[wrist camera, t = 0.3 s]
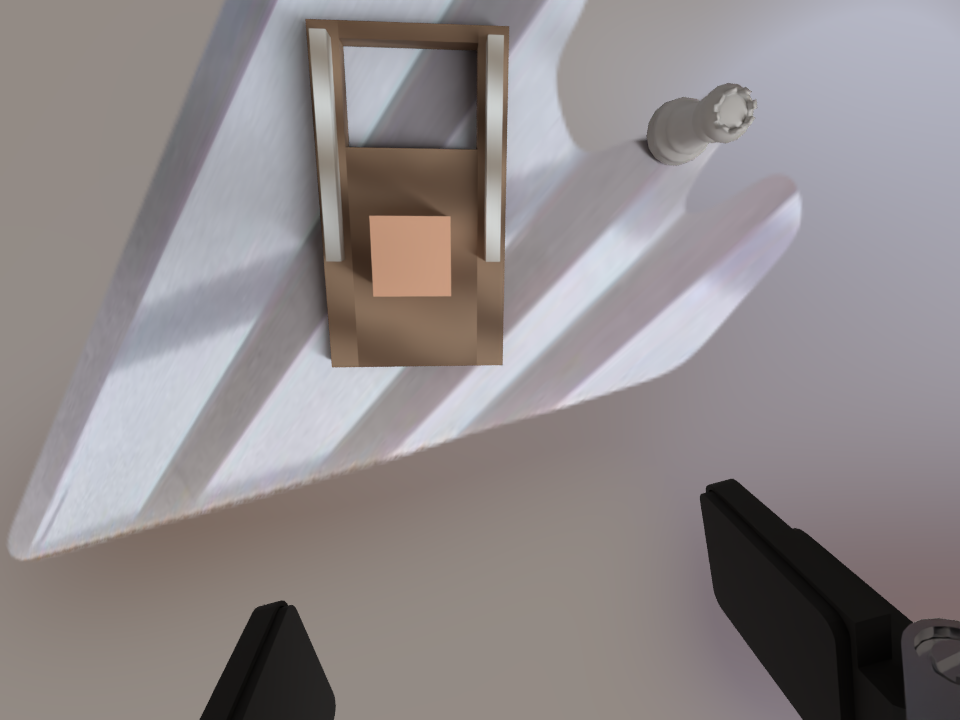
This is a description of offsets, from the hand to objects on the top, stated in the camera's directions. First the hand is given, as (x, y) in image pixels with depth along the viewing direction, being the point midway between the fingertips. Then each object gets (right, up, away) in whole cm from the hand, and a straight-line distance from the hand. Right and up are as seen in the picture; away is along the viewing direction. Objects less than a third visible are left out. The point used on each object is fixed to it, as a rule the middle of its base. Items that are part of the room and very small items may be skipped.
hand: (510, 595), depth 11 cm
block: (-5, +13, +25) cm, 28 cm away
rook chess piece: (+14, +22, +25) cm, 36 cm away
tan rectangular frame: (-5, +16, +25) cm, 31 cm away
